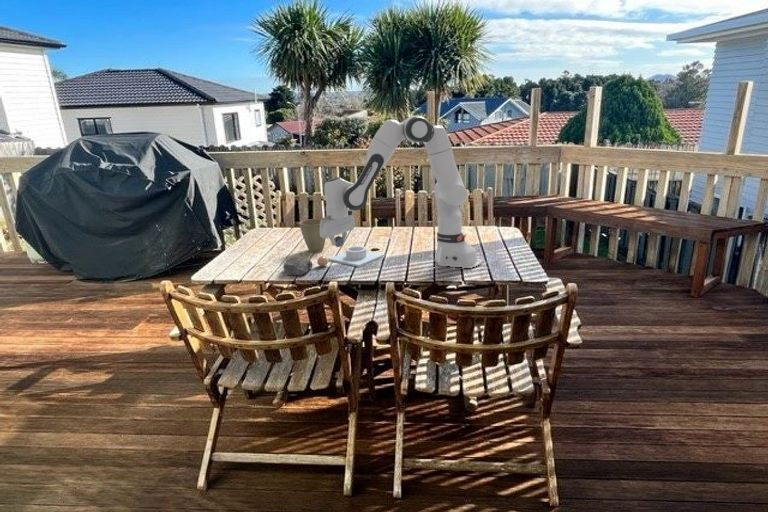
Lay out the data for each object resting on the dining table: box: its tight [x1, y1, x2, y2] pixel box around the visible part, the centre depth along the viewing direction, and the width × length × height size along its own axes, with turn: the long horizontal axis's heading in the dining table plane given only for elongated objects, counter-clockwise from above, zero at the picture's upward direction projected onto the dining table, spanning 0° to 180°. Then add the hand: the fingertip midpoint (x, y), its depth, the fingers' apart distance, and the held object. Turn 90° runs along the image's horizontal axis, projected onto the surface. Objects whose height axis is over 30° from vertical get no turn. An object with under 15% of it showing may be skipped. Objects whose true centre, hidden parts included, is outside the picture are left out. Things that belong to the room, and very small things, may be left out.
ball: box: [316, 255, 329, 267], centre depth 216 cm, size 5×5×5 cm
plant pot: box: [299, 218, 327, 253], centre depth 241 cm, size 15×15×16 cm
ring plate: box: [327, 245, 385, 268], centre depth 226 cm, size 20×20×5 cm
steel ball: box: [334, 235, 345, 248], centre depth 207 cm, size 5×5×5 cm
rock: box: [283, 255, 313, 276], centre depth 209 cm, size 13×6×15 cm
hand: (338, 243), depth 208 cm, fingers closed on steel ball, 5 cm apart
